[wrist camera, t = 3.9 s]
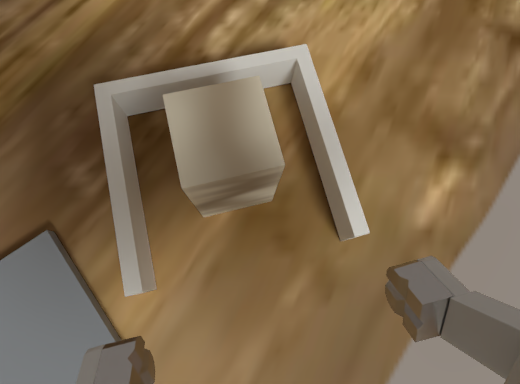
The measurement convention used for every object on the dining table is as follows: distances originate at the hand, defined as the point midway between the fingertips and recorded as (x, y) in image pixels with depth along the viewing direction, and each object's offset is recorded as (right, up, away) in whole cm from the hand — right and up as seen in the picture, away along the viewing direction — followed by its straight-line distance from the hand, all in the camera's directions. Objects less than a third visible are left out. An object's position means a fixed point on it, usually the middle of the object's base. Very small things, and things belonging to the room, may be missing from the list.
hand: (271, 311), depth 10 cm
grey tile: (-15, -6, +10) cm, 19 cm away
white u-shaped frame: (-3, +5, +13) cm, 14 cm away
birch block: (-3, +5, +13) cm, 14 cm away
